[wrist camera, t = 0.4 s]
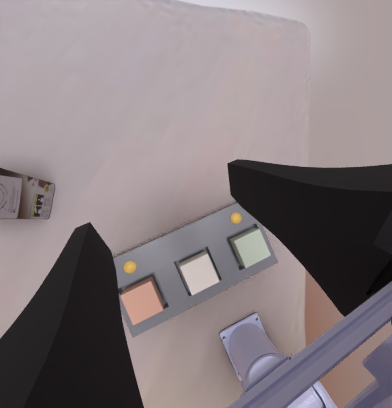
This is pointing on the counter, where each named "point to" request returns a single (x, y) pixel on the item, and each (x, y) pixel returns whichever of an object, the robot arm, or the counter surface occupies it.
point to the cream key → (198, 272)
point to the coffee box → (24, 196)
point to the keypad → (183, 249)
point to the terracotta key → (142, 300)
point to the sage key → (249, 247)
